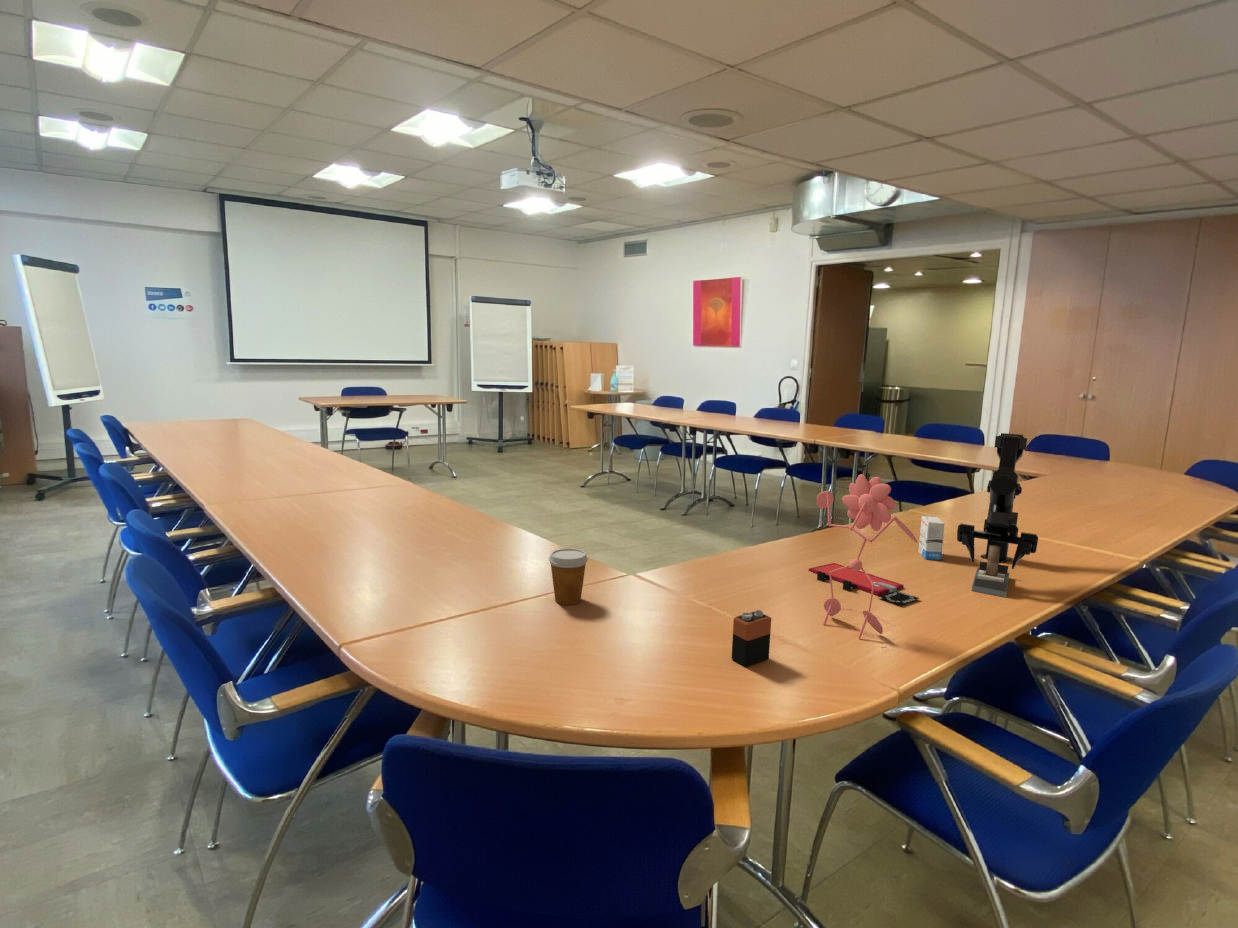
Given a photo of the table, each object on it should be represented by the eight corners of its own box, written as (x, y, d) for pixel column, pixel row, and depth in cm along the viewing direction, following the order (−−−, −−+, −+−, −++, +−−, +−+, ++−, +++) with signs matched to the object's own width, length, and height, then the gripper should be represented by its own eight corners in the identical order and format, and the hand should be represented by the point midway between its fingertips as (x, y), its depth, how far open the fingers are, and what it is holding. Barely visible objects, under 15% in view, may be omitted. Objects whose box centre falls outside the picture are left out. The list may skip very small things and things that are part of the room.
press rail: (976, 572, 188) (978, 560, 188) (1008, 577, 184) (1010, 566, 184) (971, 590, 173) (972, 578, 173) (1006, 597, 169) (1007, 584, 169)
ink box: (941, 560, 199) (945, 523, 197) (924, 559, 200) (928, 522, 197) (934, 552, 207) (938, 516, 205) (917, 551, 208) (921, 515, 206)
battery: (730, 659, 132) (732, 612, 130) (754, 651, 136) (756, 605, 134) (745, 668, 128) (748, 620, 126) (769, 659, 132) (772, 612, 130)
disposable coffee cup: (592, 596, 164) (593, 550, 162) (578, 610, 155) (578, 561, 153) (558, 591, 167) (558, 545, 165) (541, 604, 158) (541, 556, 156)
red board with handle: (895, 609, 160) (929, 598, 168) (896, 598, 160) (931, 588, 168) (799, 575, 185) (833, 567, 193) (800, 565, 184) (834, 558, 192)
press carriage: (978, 578, 178) (982, 542, 176) (1003, 583, 174) (1008, 546, 173) (976, 584, 173) (981, 547, 172) (1002, 588, 170) (1007, 551, 168)
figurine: (892, 654, 135) (910, 488, 130) (792, 613, 156) (804, 468, 150) (931, 638, 144) (949, 482, 139) (831, 601, 165) (844, 464, 159)
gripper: (961, 494, 179) (953, 542, 171) (1042, 504, 169) (1036, 555, 162) (961, 517, 187) (953, 564, 179) (1038, 527, 177) (1032, 577, 170)
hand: (992, 564), depth 172 cm, fingers open, 9 cm apart
